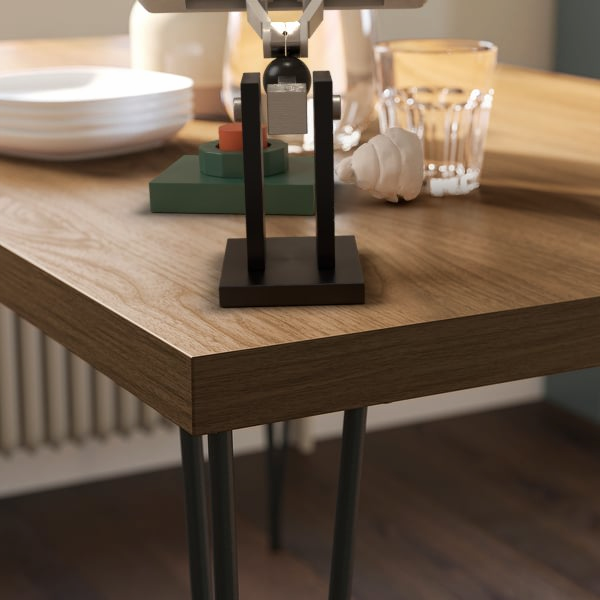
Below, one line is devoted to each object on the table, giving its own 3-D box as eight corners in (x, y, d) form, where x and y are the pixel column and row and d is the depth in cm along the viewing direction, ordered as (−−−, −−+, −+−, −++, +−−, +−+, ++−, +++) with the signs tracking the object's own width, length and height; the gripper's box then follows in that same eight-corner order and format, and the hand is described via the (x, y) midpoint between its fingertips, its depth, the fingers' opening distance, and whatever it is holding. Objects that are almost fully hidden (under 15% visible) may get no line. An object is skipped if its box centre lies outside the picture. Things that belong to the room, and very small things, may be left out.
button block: (332, 183, 93) (332, 133, 92) (313, 215, 84) (312, 159, 82) (185, 181, 95) (182, 132, 94) (150, 212, 85) (146, 158, 84)
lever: (263, 102, 79) (262, 53, 78) (311, 100, 79) (310, 52, 78) (259, 142, 65) (257, 84, 64) (316, 141, 65) (315, 83, 64)
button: (271, 145, 89) (270, 122, 89) (262, 154, 86) (261, 130, 86) (225, 144, 90) (224, 122, 89) (214, 154, 87) (213, 130, 86)
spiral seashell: (327, 197, 89) (326, 125, 87) (403, 191, 90) (404, 120, 88) (345, 214, 84) (344, 138, 82) (426, 208, 85) (426, 133, 83)
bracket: (228, 256, 74) (219, 67, 70) (354, 253, 74) (353, 63, 70) (219, 307, 65) (209, 91, 61) (365, 303, 65) (363, 87, 61)
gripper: (427, -78, 85) (440, 79, 79) (145, -73, 85) (137, 84, 79) (436, -145, 80) (450, 18, 74) (133, -140, 80) (123, 24, 74)
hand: (285, 52), depth 77 cm, fingers closed, pressing on lever
